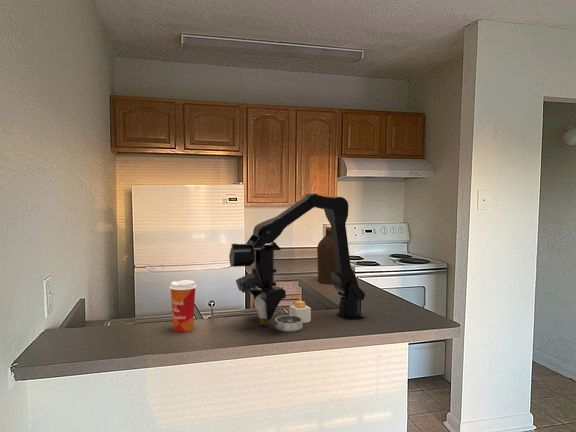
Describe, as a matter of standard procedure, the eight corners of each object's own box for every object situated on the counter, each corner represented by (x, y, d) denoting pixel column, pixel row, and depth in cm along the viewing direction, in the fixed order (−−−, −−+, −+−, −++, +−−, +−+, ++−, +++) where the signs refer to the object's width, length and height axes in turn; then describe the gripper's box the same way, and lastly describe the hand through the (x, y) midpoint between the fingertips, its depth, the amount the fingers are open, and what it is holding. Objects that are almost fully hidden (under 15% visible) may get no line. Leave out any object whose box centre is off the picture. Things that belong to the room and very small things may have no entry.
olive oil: (340, 285, 187) (341, 228, 186) (316, 284, 188) (317, 228, 186) (339, 280, 198) (340, 226, 196) (316, 279, 198) (317, 226, 197)
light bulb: (275, 323, 132) (276, 291, 131) (270, 329, 126) (270, 296, 125) (257, 322, 133) (258, 290, 133) (251, 327, 127) (251, 294, 127)
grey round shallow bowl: (294, 322, 133) (294, 314, 133) (307, 330, 126) (307, 321, 126) (270, 325, 130) (270, 317, 129) (282, 334, 122) (282, 325, 122)
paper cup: (165, 328, 126) (165, 281, 125) (189, 323, 131) (188, 278, 130) (177, 335, 120) (176, 286, 119) (201, 330, 125) (201, 283, 124)
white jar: (303, 317, 138) (303, 303, 138) (310, 321, 134) (310, 306, 134) (289, 319, 136) (289, 304, 136) (296, 323, 132) (296, 308, 131)
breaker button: (301, 310, 136) (301, 300, 136) (305, 312, 134) (305, 302, 134) (294, 311, 135) (295, 301, 135) (298, 313, 133) (298, 303, 133)
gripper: (229, 262, 133) (228, 311, 134) (250, 272, 116) (250, 328, 117) (261, 259, 138) (261, 307, 139) (287, 269, 121) (286, 323, 122)
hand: (263, 315), depth 129 cm, fingers open, 7 cm apart
